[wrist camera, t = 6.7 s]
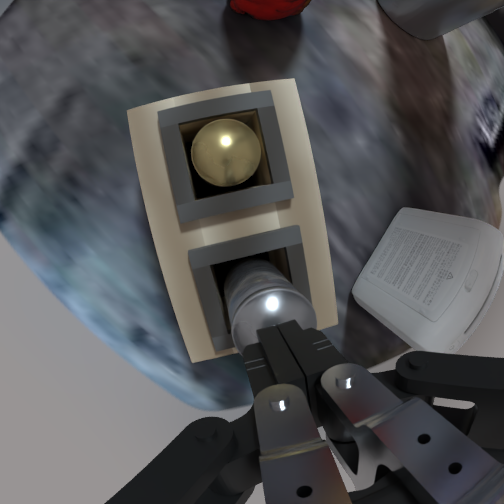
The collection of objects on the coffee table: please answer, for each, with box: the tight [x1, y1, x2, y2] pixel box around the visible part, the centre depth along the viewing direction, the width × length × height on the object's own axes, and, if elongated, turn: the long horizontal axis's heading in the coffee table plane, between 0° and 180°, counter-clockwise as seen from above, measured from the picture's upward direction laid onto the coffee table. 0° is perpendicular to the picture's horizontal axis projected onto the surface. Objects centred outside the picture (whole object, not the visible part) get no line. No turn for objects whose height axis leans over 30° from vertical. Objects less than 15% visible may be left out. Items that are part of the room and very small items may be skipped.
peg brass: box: [191, 119, 261, 187], centre depth 18 cm, size 4×4×6 cm
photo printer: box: [352, 207, 504, 354], centre depth 20 cm, size 10×4×12 cm, turn 147°
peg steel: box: [224, 258, 317, 356], centre depth 15 cm, size 4×4×6 cm
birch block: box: [127, 79, 338, 363], centre depth 19 cm, size 10×16×7 cm, turn 12°
